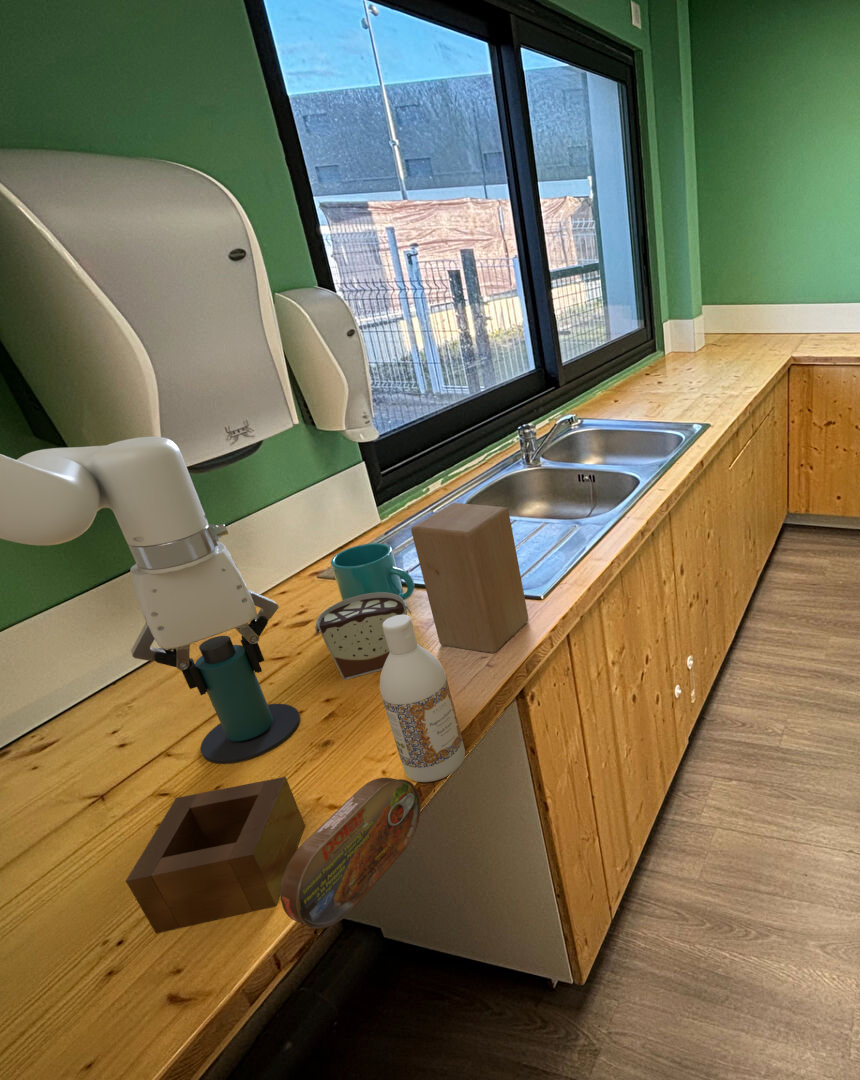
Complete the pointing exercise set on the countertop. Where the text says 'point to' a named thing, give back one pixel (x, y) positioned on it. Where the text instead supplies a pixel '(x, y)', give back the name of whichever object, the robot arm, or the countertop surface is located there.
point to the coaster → (229, 751)
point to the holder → (218, 855)
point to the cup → (369, 572)
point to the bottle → (233, 689)
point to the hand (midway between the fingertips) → (229, 677)
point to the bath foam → (419, 705)
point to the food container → (359, 631)
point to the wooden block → (471, 575)
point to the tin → (350, 852)
